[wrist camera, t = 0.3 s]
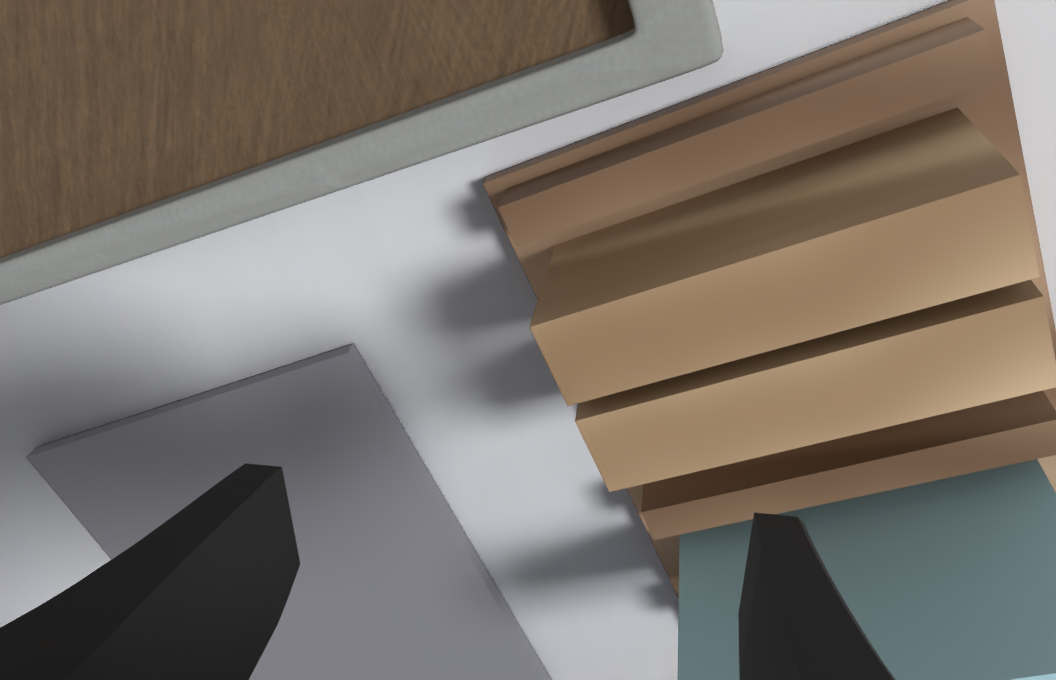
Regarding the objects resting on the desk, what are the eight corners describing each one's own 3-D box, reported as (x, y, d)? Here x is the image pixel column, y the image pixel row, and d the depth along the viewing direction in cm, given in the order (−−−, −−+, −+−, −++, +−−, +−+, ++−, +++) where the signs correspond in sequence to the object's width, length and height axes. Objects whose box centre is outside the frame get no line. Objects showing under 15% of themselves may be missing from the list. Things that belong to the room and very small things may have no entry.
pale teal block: (1043, 506, 22) (1158, 729, 17) (702, 572, 25) (706, 781, 20) (1030, 446, 22) (1147, 660, 16) (680, 522, 25) (677, 725, 19)
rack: (1092, 554, 24) (1118, 602, 22) (696, 624, 27) (697, 669, 26) (984, -13, 17) (1012, 1, 16) (487, 176, 21) (471, 202, 19)
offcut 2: (996, 288, 20) (1059, 386, 16) (621, 391, 23) (609, 492, 19) (979, 210, 19) (1043, 295, 16) (592, 327, 22) (575, 420, 18)
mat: (553, 682, 30) (551, 695, 29) (267, 728, 34) (261, 740, 33) (353, 343, 24) (347, 352, 23) (36, 447, 28) (25, 457, 27)
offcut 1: (976, 194, 19) (1039, 277, 15) (586, 314, 22) (567, 406, 18) (957, 107, 18) (1020, 174, 15) (555, 244, 21) (529, 326, 18)
